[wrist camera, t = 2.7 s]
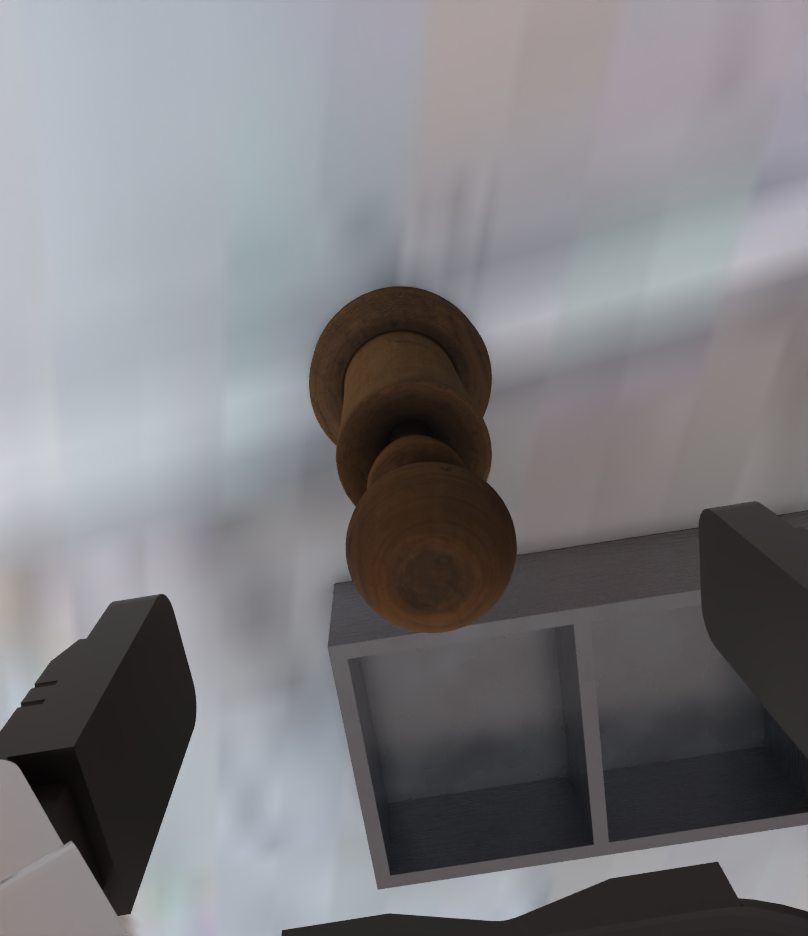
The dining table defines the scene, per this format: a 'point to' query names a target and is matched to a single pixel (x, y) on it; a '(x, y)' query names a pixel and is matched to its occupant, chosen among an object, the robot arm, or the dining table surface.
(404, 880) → the rack
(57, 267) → the dining table surface
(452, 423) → the brown turned rounded post
